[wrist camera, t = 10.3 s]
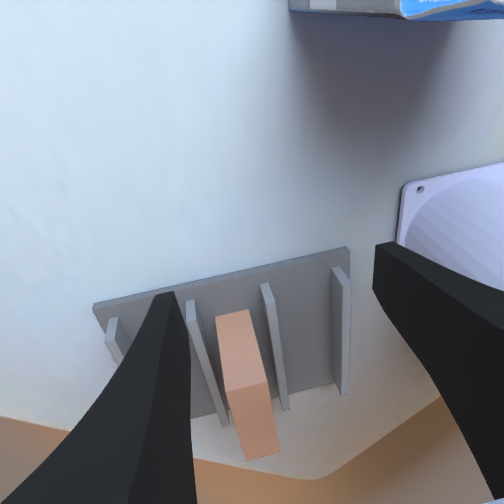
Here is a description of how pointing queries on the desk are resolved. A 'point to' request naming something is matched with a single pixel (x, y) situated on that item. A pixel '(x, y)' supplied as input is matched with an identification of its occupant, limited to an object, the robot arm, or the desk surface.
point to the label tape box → (407, 8)
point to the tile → (246, 385)
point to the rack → (255, 325)
